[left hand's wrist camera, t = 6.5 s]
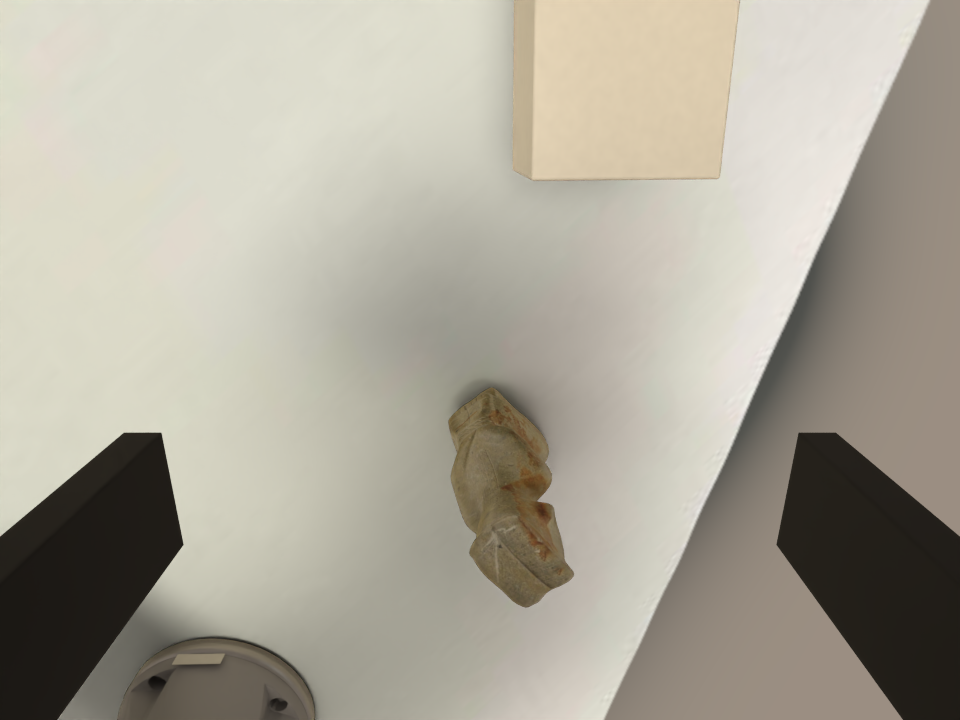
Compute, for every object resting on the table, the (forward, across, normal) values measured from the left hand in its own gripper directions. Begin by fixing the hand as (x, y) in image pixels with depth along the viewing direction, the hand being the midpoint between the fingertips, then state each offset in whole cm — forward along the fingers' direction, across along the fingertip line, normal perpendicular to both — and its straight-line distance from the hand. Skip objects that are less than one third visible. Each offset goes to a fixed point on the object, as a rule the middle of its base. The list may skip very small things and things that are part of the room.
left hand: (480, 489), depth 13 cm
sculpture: (+28, -1, +12) cm, 31 cm away
